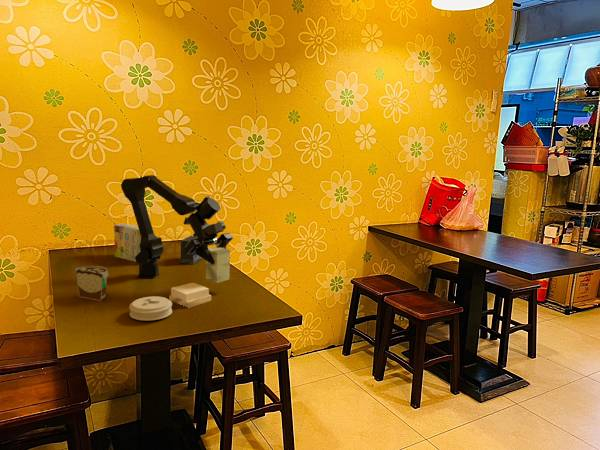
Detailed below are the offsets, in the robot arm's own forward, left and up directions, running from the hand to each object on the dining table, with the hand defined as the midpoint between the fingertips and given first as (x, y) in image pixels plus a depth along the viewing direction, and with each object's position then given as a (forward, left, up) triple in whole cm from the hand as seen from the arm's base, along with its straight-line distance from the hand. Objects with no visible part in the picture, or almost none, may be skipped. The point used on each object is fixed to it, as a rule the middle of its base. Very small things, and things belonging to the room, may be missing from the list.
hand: (220, 262), depth 163 cm
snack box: (-50, +33, -12) cm, 61 cm away
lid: (-14, -25, -12) cm, 31 cm away
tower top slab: (-7, -10, -9) cm, 16 cm away
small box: (-25, +38, -12) cm, 47 cm away
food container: (-39, -14, -12) cm, 43 cm away
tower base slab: (-7, -10, -12) cm, 17 cm away
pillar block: (-1, +1, -7) cm, 7 cm away
